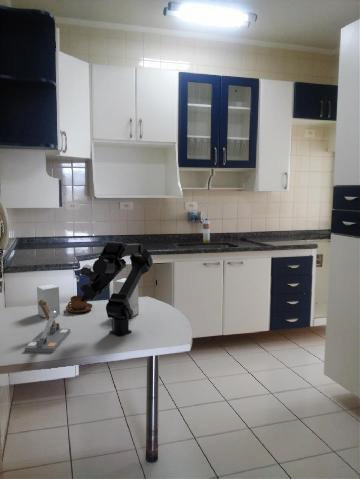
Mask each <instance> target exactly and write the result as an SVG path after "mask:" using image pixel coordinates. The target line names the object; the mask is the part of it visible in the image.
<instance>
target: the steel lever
mask: <svg viewBox="0 0 360 479" xmlns="http://www.w3.org/2000/svg"><path fill="white" fill-rule="evenodd" d="M49 316H50V318H49V320H47V322H46V325H45V327H44V329H43V330H44V331H43V330H42V331H43V334H42V336H41V338H40V340H43V342H44V341H45V339H46V336H47V334H48V332H49V330H50V327H51V325H52V323H53V320H55V319H56V318H58V316H59V315H58V314H57V312H56V311H51V312H50V314H49Z"/></svg>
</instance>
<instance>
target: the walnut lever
mask: <svg viewBox="0 0 360 479" xmlns="http://www.w3.org/2000/svg"><path fill="white" fill-rule="evenodd" d="M38 304H39V306H41V308H42V310H43V312H44V314H45V316H46V319H47V321H48V320H49V318H50V316H49V314H50V311H49V309H48V307H47V305H46V301H45V300H43V299H42V300H40V301H39V303H38V302H37V305H38ZM56 323H57V322H56V321H55V319H54V320H53V323H52V325H51V327H56V328H57V324H56Z"/></svg>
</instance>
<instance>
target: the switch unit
mask: <svg viewBox="0 0 360 479" xmlns="http://www.w3.org/2000/svg"><path fill="white" fill-rule="evenodd" d="M56 324H57V328H56V327H50V330H49V332H48V334H47V336H46V339H45V341H44V342H43V340H40V338H41V336H42V334H43V331H44V329H43V330H41V332H39V333H38V334H37V335H36V336H35V337H34V338H33V339H32V340H31V341H30V342H29V343H28V344H27V345H26V346H25V347H24V352H25V353H49V352H53V353H55V352H56V350H57V349H58V348H59V347H60V345H61V344H62V343H61V342H62V341H63V342H64V340H66V338H67V337H68V336H69V335H70V333H71V328H61V327H60V322H56ZM60 343H61V344H60ZM57 347H58V348H57ZM56 348H57V349H56Z"/></svg>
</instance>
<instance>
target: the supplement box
mask: <svg viewBox="0 0 360 479" xmlns="http://www.w3.org/2000/svg"><path fill="white" fill-rule="evenodd" d="M36 296H37V297H36V298H37V299H36V300H37V314H38V315H40V317H42V318H46V316H45V314H44V312H43V310H42V308H41V306H39V304H38V303H39V301H40V300H42V299H43V300H45V301H46V305H47V307H48V309H49V311H50V312H51V311H56V312H57V314H58V316H59V315H61V311H60V310H61V306H60V287H59V286H57V285H55V284H53V283H51V284H43V285H39V286H36ZM46 319H47V318H46Z"/></svg>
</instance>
